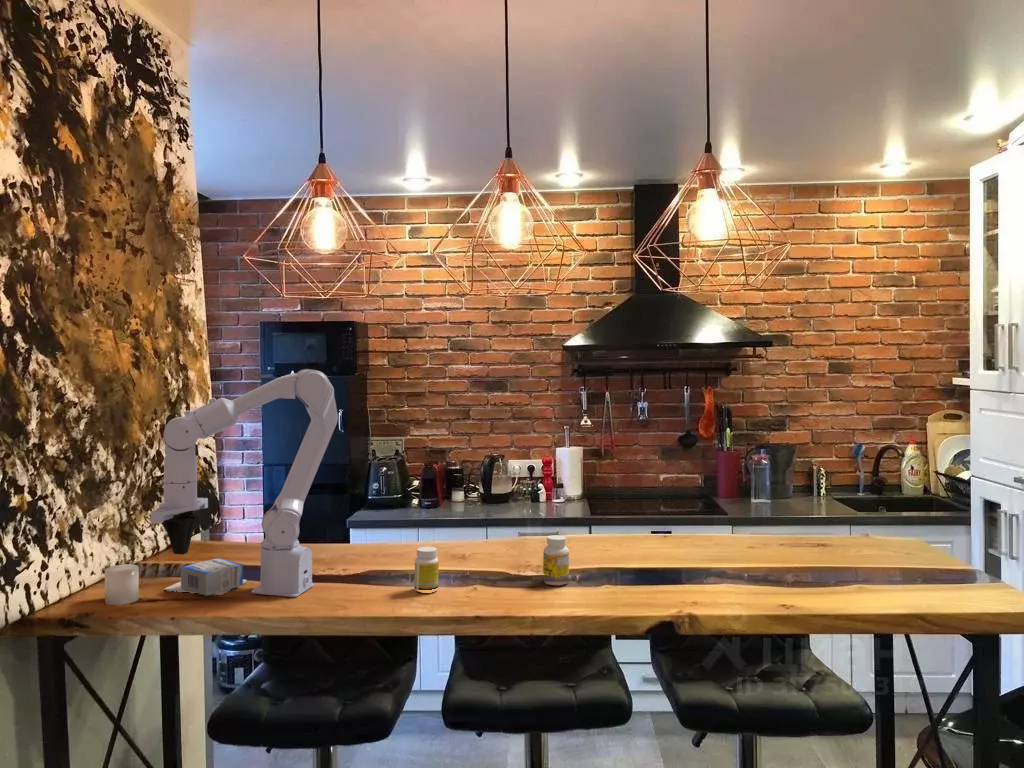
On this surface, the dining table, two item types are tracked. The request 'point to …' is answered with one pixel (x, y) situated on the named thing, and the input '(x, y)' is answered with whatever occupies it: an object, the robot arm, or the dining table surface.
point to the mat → (178, 588)
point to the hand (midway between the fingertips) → (180, 553)
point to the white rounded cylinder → (121, 584)
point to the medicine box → (211, 576)
